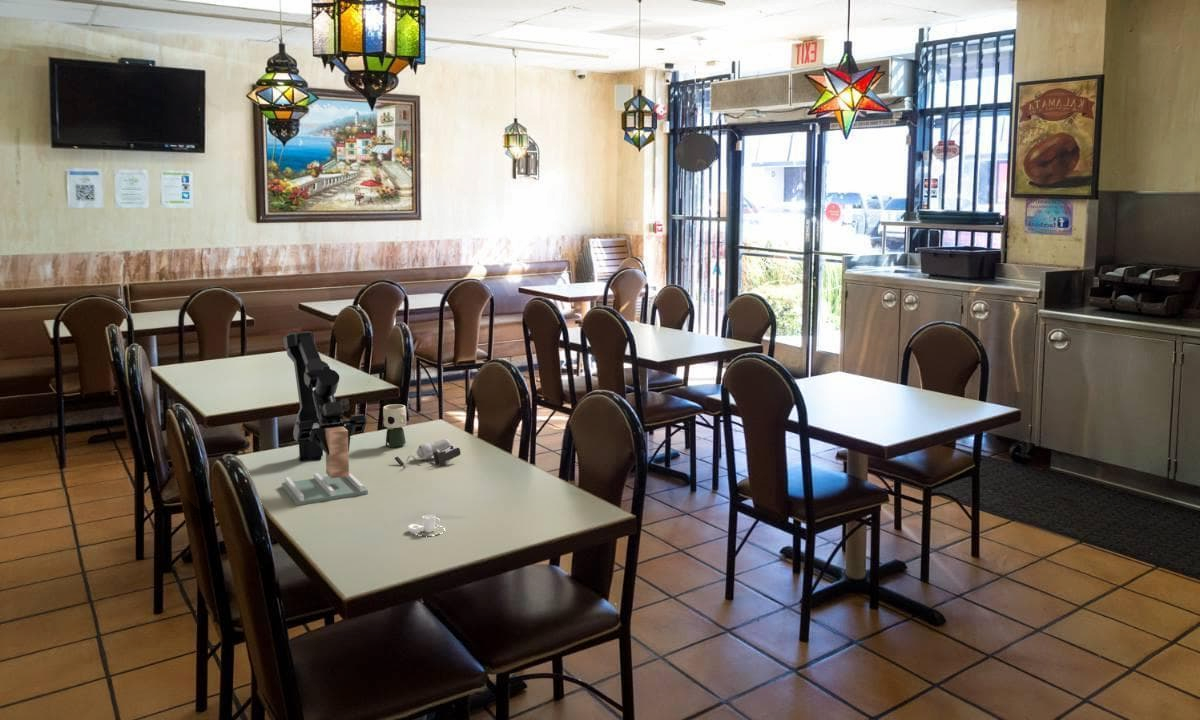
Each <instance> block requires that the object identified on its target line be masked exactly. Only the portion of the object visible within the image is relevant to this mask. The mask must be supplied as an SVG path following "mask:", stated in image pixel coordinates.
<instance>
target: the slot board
mask: <svg viewBox="0 0 1200 720" xmlns="http://www.w3.org/2000/svg"><path fill="white" fill-rule="evenodd" d="M313 475H314V476H313V478H306V479H301V480H294V481H293V480H292V479H291V477H289V476H287V477H284V480H285V481H284V482H282V483H281V487H282V489H283V490H284V491H285V492H286V494H287V495H288V497H289V498H290V499H291V500H292V501H293V502H294V504H295V505H296V506H301V505H307V504H312V503H313V504H314V503H319V502H320V503H321V502H327V501H331V500H337V499H338V500H339V499H344V498H350V497H357V496H363V495H368V494H369V491H368V489H367V488H366V487H365V485H364V484H363V483H362V482H360V480H359V479H358V478H356V477H355V476H354V475H353V474H352V473H351V472H350V471H349V476H346V477H338V478H330V477H329V476H328V475H327V476H322V475H320V474H319V472H314V473H313Z"/></svg>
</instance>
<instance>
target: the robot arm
mask: <svg viewBox="0 0 1200 720" xmlns="http://www.w3.org/2000/svg"><path fill="white" fill-rule="evenodd" d="M283 346H284V349H285V350H286V354H287V357H289V359H290V360H291V362H293V365H294V372H295V373H294V374H295V379H296V381H295V382H296V387H297V388H296V389H297V395H298V396H297V397H298V403H299V410H298V413H297V415H296V417H295V421H296V422H294V427H293V432H292V433H293V439H294V440H295V442H297V443H298V453H299V457H298V461H299V462H308V461H309V462H310V461H320V460H322V457H323V456H324V454H325V455H326V454H327V455H329V449H328V445H327V443H326V440H325V428H332V427H342V426H343V427H344V428H346V429H347V430H348V453H350V452H349V451H350V445H351V436H354V434H357V433H362V432H364V431H365V428H366V426H367V422H368V421H367V417H366V415H364V413H362V414H352V415H350V417H349V420H343V421H342V419H343V417H344V415H343V414H344V413H345V412H348V411H349V410H350V402H349V399H348V398H342V399H340V400H339V401H336V398H335V394H336V393H337V390H338V389H337V388H338V385H339V382H340V374H338V372H337V371H336V370H334V369H331V368H330V365H329V364H328V363H327V362H325V361H323V360H322V358H321V356H320V355H321V354H320V353H319V351H318V348H317V346H316V338H315V334H314V332H312V331H298V332H293V333H292V332H291V333H287V335H286V336H284V337H283Z"/></svg>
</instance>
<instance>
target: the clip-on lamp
mask: <svg viewBox="0 0 1200 720" xmlns="http://www.w3.org/2000/svg"><path fill="white" fill-rule="evenodd" d="M416 455H417V457H418V458H417V457H415V456H414V455H413V454H409V455H408V457H407V458H406V462H404V461H403V460H401V458H400V457H399V456H396V455H394V460H395V461H396V462H397V463H398V464H399V465H400V466H401V467H407V466H408V461H409V458H410V457H411V458H413V459H414V460H417V461H419V460H424V461H429V460H430V459H432V457H433V459H434V463H435V465H436V466H437V465H439V466H440V467H443V466H445V463H446V462H448V461H451V460H452V459H455V458H457V457H459V456H461V449H460V447H455V448H454V446H453V445H452V443H451V441H450V440H449V439H448V438H443V439H441V440H437V441H434V442H431V443H427V442H424V443H421V444H419V445H418V449H417V450H416Z"/></svg>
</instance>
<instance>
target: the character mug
mask: <svg viewBox="0 0 1200 720" xmlns="http://www.w3.org/2000/svg"><path fill="white" fill-rule="evenodd" d="M382 416H383V426H384V427H385V428H387V430H386V433H385V434H386V435H385V446H386V447H387V446H388V447H393V448H394V447H395V448H396V447H398V448H399V447H400V446H403V445H405V444H406V443H407V442H406V436H405V430H404V428H403V427H405V426H406V425H407V410H406V405H405V404H399V403H398V404H397V403H395V404H387V405H384V406H383V407H382Z"/></svg>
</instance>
